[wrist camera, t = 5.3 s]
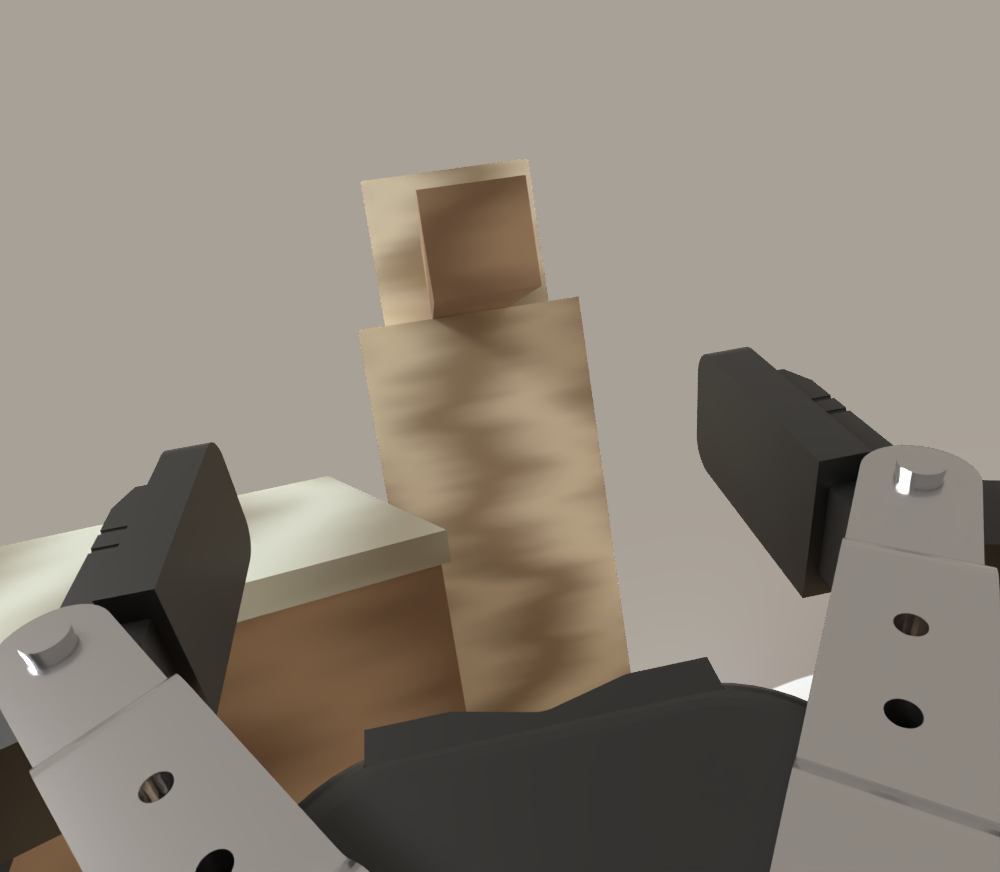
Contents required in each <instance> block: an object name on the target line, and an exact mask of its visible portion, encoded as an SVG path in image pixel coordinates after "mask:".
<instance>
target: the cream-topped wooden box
mask: <svg viewBox="0 0 1000 872" xmlns="http://www.w3.org/2000/svg"><path fill="white" fill-rule="evenodd" d="M237 496H238V499H239V502H240V504H241V507H242V510H243V513H244V515H245V518H246V521H247V524H248V528H249V533H250V540H251V558H250V563H249V568H248V573H247V577H246V582H245V586H244V591H243V596H242V600H241V605H240V610H239V614H238V619H237V624H236V628H235V633H234V638H233V642H232V647H231V651H230V656H229V661H228V665H227V670H226V675H225V679H224V684H223V689H222V693H221V698H220V703H219V707H218V712H217V716H218V718H219V719H220V720H221V721H222V722H223V723H224V724H225V725H226V726H227V727H228V729H229V730H230V731H231V732H232V733H233V734H234V735H235V736H236V737H237V739H238V740H239V741H240V742H241V743H242V744H243V745H244V746H245V747H246V748H247V750H248V751H249V752H250V753H251V754H252V755H253V756H254V757H255V758H256V759H257V761H258V762H259V763H260V764H261V765H262V766H263V767H264V768H265V769H266V770H267V772H268V773H269V774H270V775H271V776H272V777H273V778H274V779H275V780H276V781H277V783H278V784H279V785H280V786H281V787H282V788H283V789H284V790H285V791H286V792H287V794H288V795H289V796H290V797H291V798H292V799H293V800H294V801H295V802H296V804H297V805H298V804H299V803H300V802H301V801H302V800H303V799H304V798H305V797H307V796H308V795H309V794H310V793H311V792H312V791H314V790H315V789H316V788H318V787H319V786H320V785H322V784H323V783H325V782H326V781H327V780H329V779H330V778H331V777H333V776H335V775H336V774H338V773H340V772H341V771H343V770H345V769H347V768H348V767H350V766H352V765H354V764H356V763H358V762H360V761H362V760H364V730H367V729H372V728H376V727H381V726H386V725H390V724H395V723H400V722H404V721H409V720H414V719H419V718H423V717H428V716H433V715H437V714H442V713H447V712H466V707H465V701H464V695H463V689H462V683H461V677H460V671H459V665H458V660H457V654H456V648H455V642H454V636H453V630H452V624H451V618H450V612H449V606H448V601H447V595H446V589H445V583H444V577H443V571H442V565H441V564H445V563H448V562H451V556H450V550H449V544H448V538H447V532H446V530H445V529H443V528H441V527H439V526H437V525H434V524H432V523H430V522H428V521H426V520H423V519H421V518H419V517H417V516H415V515H412V514H410V513H408V512H406V511H404V510H401V509H399V508H397V507H395V506H393V505H391V504H388V503H386V502H384V501H382V500H380V499H377V498H375V497H373V496H371V495H369V494H366V493H364V492H362V491H360V490H358V489H355V488H353V487H351V486H349V485H347V484H344V483H342V482H340V481H338V480H336V479H333V478H331V477H329V476H326V477H321V478H316V479H312V480H307V481H302V482H298V483H293V484H289V485H284V486H279V487H275V488H270V489H265V490H261V491H256V492H251V493H247V494H243V495H237ZM102 526H103V525H98V526H94V527H89V528H85V529H80V530H75V531H71V532H66V533H61V534H56V535H52V536H47V537H43V538H38V539H34V540H29V541H24V542H19V543H15V544H10V545H5V546H1V547H0V644H1V643H2V642H3V641H4V640H5V639H6V638H7V637H8V636H9V635H11V634H12V633H13V632H14V631H16V630H17V629H19V628H20V627H21V626H23V625H25V624H26V623H28V622H30V621H31V620H33V619H35V618H37V617H39V616H41V615H43V614H45V613H48V612H50V611H53V610H56V609H59V608H60V606H61V605H62V603H63V601H64V599H65V597H66V595H67V593H68V591H69V589H70V587H71V585H72V583H73V582H74V580H75V578H76V576H77V574H78V572H79V570H80V568H81V566H82V564H83V562H84V561H85V559H86V557H87V555H88V554H89V553H91V547H92V545H93V543H94V541H95V540H96V538H97V536H98V535H101V532H100V530H101V528H102ZM9 872H83V871H82V870H81V868H80V866H79V864H78V862H77V860H76V858H75V857H74V855H73V853H72V851H71V849H70V847H69V846H68V844H67V842H66V840H65V838H64V836H63V834H61V835H59V836H57V837H55V838H53V839H51V840H49V841H47V842H45V843H43V844H41V845H39V846H37V847H35V848H33V849H31V850H29V851H27V852H25V853H23V854H21V855H19V856H17V857H15V858H14V859H13V862H12V865H11V867H10V870H9Z"/></svg>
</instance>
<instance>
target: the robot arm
mask: <svg viewBox="0 0 1000 872" xmlns="http://www.w3.org/2000/svg"><path fill="white" fill-rule="evenodd" d="M697 408H698V409H697V442H698V449H699V454H700V457H701V460H702V463H703V465H704V467H705V469H706V471H707V472H708V474H709V475H710V476H711V478H712V479H713V480H714V482H715V483H716V484H717V486H718V487H719V488H720V490H721V491H722V492H723V494H724V495H725V496H726V497H727V499H728V500H729V501H730V503H731V504H732V505H733V507H734V508H735V509H736V511H737V512H738V513H739V515H740V516H741V517H742V519H743V520H744V521H745V523H746V524H747V525H748V526H749V528H750V529H751V530H752V532H753V533H754V534H755V536H756V537H757V538H758V540H759V541H760V542H761V544H762V545H763V546H764V548H765V549H766V550H767V551H768V553H769V554H770V555H771V556H772V558H773V559H774V561H775V562H776V563H777V564H778V566H779V567H780V569H782V571H783V573H784V574H785V575H786V577H787V578H788V579H789V580H790V582H791V583H792V584H793V586H794V587H795V588H796V590H797V591H798V592H799V594H800V595H801V596H802V598H805V597H810V596H815V595H820V594H824V593H829V592H831V595H830V600H829V605H828V609H827V614H826V619H825V623H824V628H823V633H822V638H821V642H820V647H819V652H818V657H817V661H816V666H815V671H814V675H813V680H812V685H811V689H810V694H809V699H808V701H805V700H803V699H800V698H798V697H795V696H792V695H789V694H786V693H783V692H779V691H776V690H773V689H767V688H763V687H758V686H753V685H745V684H736V683H721V682H720V680H719V678H718V677H717V675H716V673H715V671H714V670H713V667H712V665H711V664H710V662H709V660H708V658H707V657H704V658H699V659H695V660H690V661H686V662H681V663H676V664H671V665H667V666H662V667H658V668H653V669H648V670H643V671H638V672H634V673H629V674H625V675H623V676H620V677H618V678H616V679H614V680H612V681H610V682H608V683H605V684H603V685H601V686H599V687H597V688H595V689H592V690H590V691H588V692H586V693H584V694H582V695H580V696H577V697H575V698H573V699H571V700H569V701H567V702H565V703H562V704H560V705H558V706H556V707H554V708H551V709H549V710H546V711H541V712H447V713H442V714H437V715H433V716H428V717H423V718H419V719H414V720H409V721H404V722H400V723H395V724H390V725H386V726H381V727H376V728H372V729H367V730H364V760H362V761H360V762H358V763H356V764H354V765H352V766H350V767H348V768H347V769H345V770H343V771H341V772H340V773H338V774H336V775H335V776H333V777H331V778H330V779H329V780H327V781H326V782H325V783H323V784H322V785H320V786H319V787H318V788H316V789H315V790H314V791H312V792H311V793H310V794H309V795H308V796H307V797H305V798H304V799H303V800H302V801H301V802H300V803H299V804H298V805H297V804H296V802H295V801H294V800H293V799H292V798H291V797H290V796H289V795H288V794H287V792H286V791H285V790H284V789H283V788H282V787H281V786H280V785H279V784H278V783H277V781H276V780H275V779H274V778H273V777H272V776H271V775H270V774H269V773H268V772H267V770H266V769H265V768H264V767H263V766H262V765H261V764H260V763H259V762H258V761H257V759H256V758H255V757H254V756H253V755H252V754H251V753H250V752H249V751H248V750H247V748H246V747H245V746H244V745H243V744H242V743H241V742H240V741H239V740H238V739H237V737H236V736H235V735H234V734H233V733H232V732H231V731H230V730H229V729H228V727H227V726H226V725H225V724H224V723H223V722H222V721H221V720H220V719H219V718H218V716H217V712H218V707H219V703H220V698H221V693H222V689H223V684H224V679H225V675H226V670H227V665H228V661H229V656H230V651H231V647H232V642H233V638H234V633H235V628H236V624H237V619H238V614H239V610H240V605H241V600H242V596H243V591H244V586H245V582H246V577H247V573H248V568H249V563H250V558H251V540H250V533H249V528H248V524H247V521H246V518H245V515H244V513H243V510H242V507H241V504H240V502H239V499H238V496H237V494H236V491H235V488H234V485H233V483H232V480H231V477H230V475H229V472H228V469H227V466H226V464H225V461H224V458H223V456H222V453H221V451H220V450H219V448H218V447H217V445H216V444H215V443H212V442H211V443H206V444H201V445H195V446H189V447H184V448H178V449H173V450H167V451H164V452H163V453H162V455H161V457H160V459H159V461H158V463H157V465H156V467H155V470H154V472H153V474H152V476H151V478H150V480H149V482H148V484H147V485H144V486H139V487H135V488H134V489H133V490H132V491H130V492H129V493H128V494H127V495H126V496H125V497H124V498H123V499H122V500H121V501H120V502H118V503H117V504H116V505H115V506H114V507H113V508H112V509H111V511H110V513H109V515H108V517H107V519H106V521H105V522H104V524H103V526H102V528H101V530H100V532H101V535H98V536H97V538H96V540H95V541H94V543H93V545H92V547H91V553H89V554H88V555H87V557H86V559H85V561H84V562H83V564H82V566H81V568H80V570H79V572H78V574H77V576H76V578H75V580H74V582H73V583H72V585H71V587H70V589H69V591H68V593H67V595H66V597H65V599H64V601H63V603H62V605H61V606H60V608H59V609H56V610H53V611H50V612H48V613H45V614H43V615H41V616H39V617H37V618H35V619H33V620H31V621H30V622H28V623H26V624H25V625H23V626H21V627H20V628H19V629H17V630H16V631H14V632H13V633H12V634H11V635H9V636H8V637H7V638H6V639H5V640H4V641H3V642H2V643H1V644H0V872H9V870H10V867H11V865H12V862H13V859H14V858H15V857H17V856H19V855H21V854H23V853H25V852H27V851H29V850H31V849H33V848H35V847H37V846H39V845H41V844H43V843H45V842H47V841H49V840H51V839H53V838H55V837H57V836H59V835H61V834H63V836H64V838H65V840H66V842H67V844H68V846H69V847H70V849H71V851H72V853H73V855H74V857H75V858H76V860H77V862H78V864H79V866H80V868H81V870H82V871H83V872H1000V481H988V480H982V478H981V476H980V474H979V473H978V471H977V470H976V469H975V468H974V467H973V466H972V465H970V464H969V463H968V462H966V461H964V460H963V459H961V458H959V457H957V456H955V455H953V454H950V453H948V452H945V451H941V450H938V449H934V448H929V447H923V446H914V445H896V446H893V445H892V444H891V443H889V442H888V441H887V440H886V439H884V438H883V437H882V436H881V435H879V434H878V433H877V432H876V431H874V430H873V429H872V428H870V427H869V426H868V425H867V424H866V423H865V422H863V421H862V420H861V419H859V418H858V417H857V416H856V415H854V414H853V413H852V412H851V411H846V408H845V406H843V405H842V404H841V403H840V402H838V401H837V400H836V399H835V398H832V399H831V397H830V394H828V393H827V392H826V391H825V390H823V389H822V388H821V387H820V386H818V385H817V384H816V383H814V382H813V381H812V380H810V379H808V378H805V377H802V376H800V375H797V374H795V373H792V372H789V371H787V370H784V369H782V370H776V369H775V368H774V367H773V366H771V365H770V364H769V363H768V362H767V361H765V360H764V359H763V358H762V357H761V356H759V355H758V354H757V353H756V352H754V350H752V349H751V348H749V347H743V348H738V349H732V350H727V351H722V352H716V353H710V354H705V355H703V356H702V357H701V359H700V362H699V368H698V407H697Z"/></svg>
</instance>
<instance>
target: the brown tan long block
mask: <svg viewBox="0 0 1000 872" xmlns="http://www.w3.org/2000/svg"><path fill="white" fill-rule="evenodd" d="M361 188H362V194H363V200H364V206H365V211H366V217H367V223H368V229H369V234H370V240H371V246H372V252H373V258H374V264H375V270H376V275H377V281H378V287H379V292H380V299H381V305H382V310H383V316H384V322H385V326H389V325H395V324H402V323H409V322H415V321H422V320H428V319H435V318H442V317H448V316H455V315H461V314H468V313H474V312H481V311H488V310H494V309H501V308H507V307H514V306H520V305H527V304H534V303H540V302H547V301H548V294H547V287H546V281H545V273H544V266H543V260H542V253H541V246H540V239H539V232H538V225H537V218H536V212H535V204H534V197H533V190H532V183H531V177H530V170H529V163H528V159H521V160H513V161H507V162H499V163H492V164H484V165H477V166H470V167H462V168H455V169H448V170H440V171H433V172H426V173H418V174H411V175H404V176H396V177H389V178H382V179H375V180H367V181H361Z"/></svg>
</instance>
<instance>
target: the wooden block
mask: <svg viewBox="0 0 1000 872" xmlns="http://www.w3.org/2000/svg"><path fill="white" fill-rule="evenodd" d="M358 335H359V340H360V346H361V351H362V357H363V363H364V369H365V374H366V380H367V385H368V391H369V396H370V402H371V408H372V414H373V419H374V425H375V431H376V436H377V442H378V447H379V453H380V459H381V464H382V470H383V476H384V482H385V487H386V493H387V499H388V504H391V505H393V506H395V507H397V508H399V509H401V510H404V511H406V512H408V513H410V514H412V515H415V516H417V517H419V518H421V519H423V520H426V521H428V522H430V523H432V524H434V525H437V526H439V527H441V528H443V529H445V530H446V532H447V538H448V544H449V550H450V556H451V562H448V563H445V564H441V565H442V571H443V577H444V583H445V589H446V595H447V601H448V606H449V612H450V618H451V624H452V630H453V636H454V642H455V648H456V654H457V660H458V665H459V671H460V677H461V683H462V689H463V695H464V701H465V707H466V712H541V711H546V710H549V709H551V708H554V707H556V706H558V705H560V704H562V703H565V702H567V701H569V700H571V699H573V698H575V697H577V696H580V695H582V694H584V693H586V692H588V691H590V690H592V689H595V688H597V687H599V686H601V685H603V684H605V683H608V682H610V681H612V680H614V679H616V678H618V677H620V676H623V675H625V674H629V673H631V672H630V666H629V658H628V651H627V643H626V636H625V629H624V622H623V614H622V607H621V600H620V593H619V586H618V578H617V572H616V565H615V557H614V549H613V542H612V535H611V528H610V521H609V513H608V506H607V499H606V492H605V485H604V477H603V470H602V464H601V456H600V449H599V441H598V435H597V427H596V420H595V413H594V405H593V398H592V391H591V384H590V377H589V369H588V362H587V355H586V348H585V340H584V333H583V326H582V319H581V312H580V305H579V297H574V298H567V299H560V300H553V301H547V302H540V303H534V304H527V305H520V306H514V307H507V308H501V309H494V310H488V311H481V312H474V313H468V314H461V315H455V316H448V317H442V318H435V319H428V320H422V321H415V322H409V323H402V324H395V325H389V326H382V327H376V328H369V329H363V330H358Z"/></svg>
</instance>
